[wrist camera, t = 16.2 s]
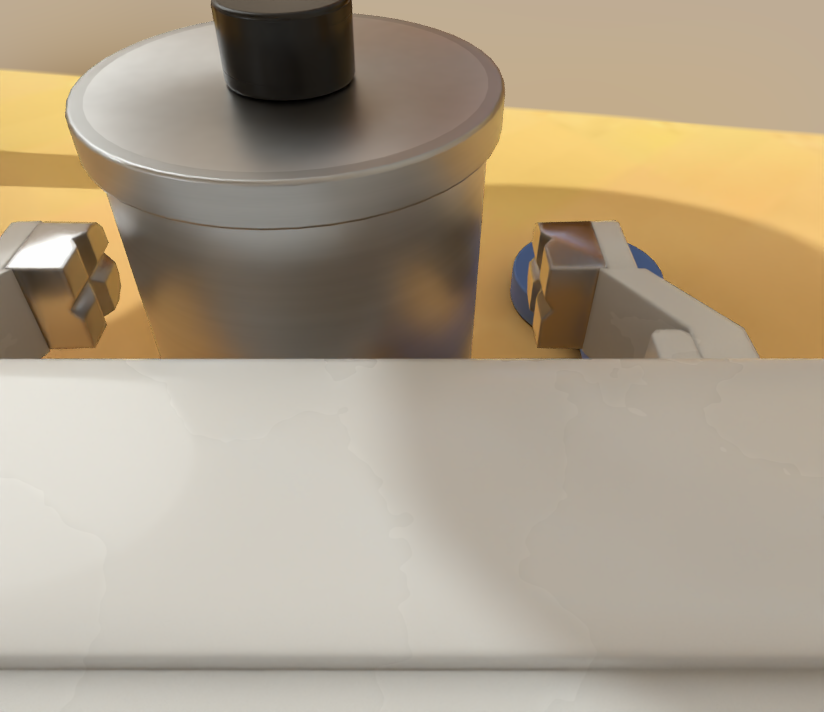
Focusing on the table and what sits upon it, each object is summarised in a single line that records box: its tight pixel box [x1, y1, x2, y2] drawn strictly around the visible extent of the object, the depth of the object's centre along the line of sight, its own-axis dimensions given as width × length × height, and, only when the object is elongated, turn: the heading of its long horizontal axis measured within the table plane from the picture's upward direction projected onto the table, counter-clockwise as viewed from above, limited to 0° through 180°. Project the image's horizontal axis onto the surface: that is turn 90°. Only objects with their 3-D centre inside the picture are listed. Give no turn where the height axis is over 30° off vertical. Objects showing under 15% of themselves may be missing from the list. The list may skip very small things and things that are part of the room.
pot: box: [65, 0, 505, 359], centre depth 13 cm, size 7×7×10 cm
